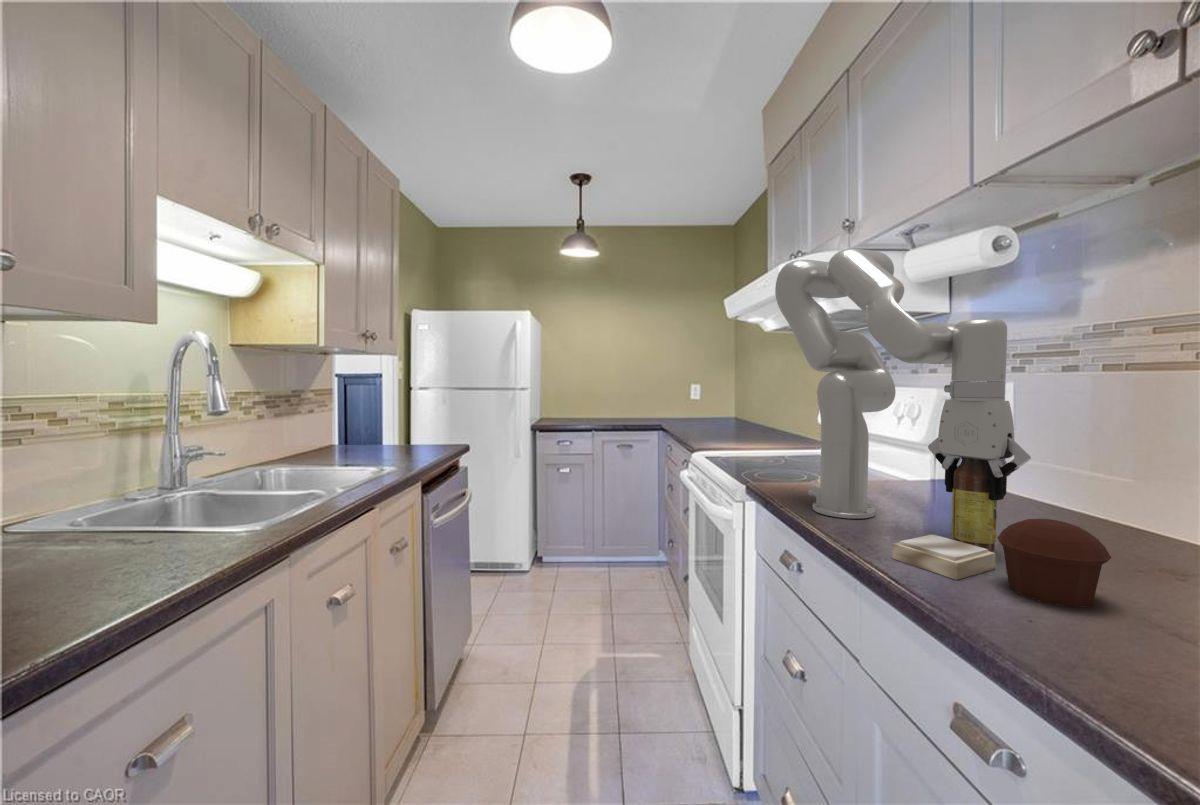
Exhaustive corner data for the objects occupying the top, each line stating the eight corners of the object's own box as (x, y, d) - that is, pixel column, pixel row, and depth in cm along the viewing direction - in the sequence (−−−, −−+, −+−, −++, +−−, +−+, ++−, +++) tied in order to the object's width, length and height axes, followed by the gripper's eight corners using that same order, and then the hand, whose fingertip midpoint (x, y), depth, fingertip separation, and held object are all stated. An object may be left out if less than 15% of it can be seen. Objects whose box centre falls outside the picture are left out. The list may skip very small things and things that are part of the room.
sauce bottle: (1003, 556, 85) (1009, 438, 84) (961, 553, 86) (966, 437, 85) (982, 543, 91) (987, 434, 90) (943, 541, 93) (948, 433, 92)
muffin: (1110, 594, 70) (1113, 522, 70) (1108, 621, 62) (1112, 540, 62) (1001, 571, 79) (1004, 507, 78) (988, 592, 71) (991, 521, 71)
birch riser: (892, 558, 84) (893, 540, 84) (929, 549, 89) (930, 532, 88) (956, 579, 75) (957, 559, 75) (995, 568, 80) (995, 550, 79)
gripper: (913, 391, 94) (911, 487, 95) (1025, 393, 78) (1020, 509, 79) (938, 390, 97) (936, 484, 98) (1050, 393, 81) (1045, 504, 82)
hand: (974, 494), depth 88 cm, fingers closed on sauce bottle, 6 cm apart
